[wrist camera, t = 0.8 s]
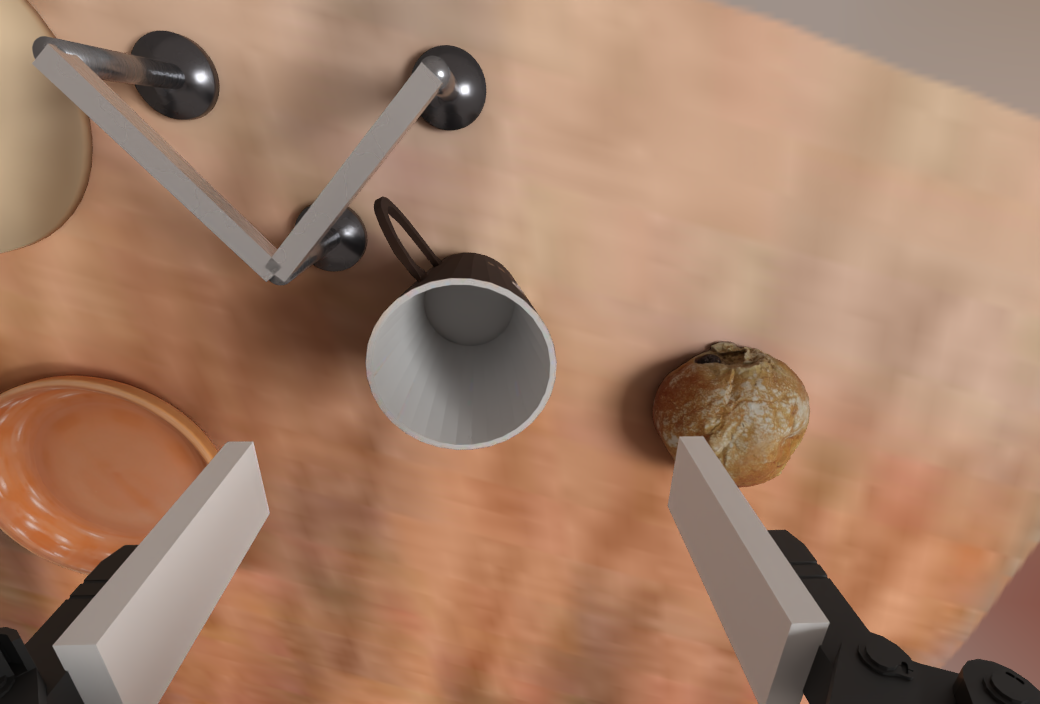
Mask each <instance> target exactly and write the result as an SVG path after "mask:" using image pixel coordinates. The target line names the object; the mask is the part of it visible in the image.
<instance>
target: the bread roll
mask: <svg viewBox="0 0 1040 704" xmlns="http://www.w3.org/2000/svg"><path fill="white" fill-rule="evenodd" d="M809 414H810V408H809V397H808V394H807V392H806V390H805V387H804V385H803V383H802V381H801V380H800V379H799V378H798V376H797V375H796V374H795V373H794V372H793V371H792V370H791V369H790V368H789V367H788V366H787V365H786V364H785V363H783V362H782V361H780V360H778V359H775V358H773V357H772V356H770V355H769V354H765V353H763V352H762V351H760V350H758V349H755V348H748V347H742V348H739V347H738V346H736V345H735V344H734V343H732V342H719V343H717V344H715V345H712V346H711V349H710V350H708V351H707V352H704V353H702V354H700V355H697V356H696V357H694V358H692V359H690V360H689V361H688V362H686V363H685V364H683V365H681V366H680V367H678V368H677V369H676V370H674V371H672V372H670V373H669V374H668V375H667V376H666V377H665V378H664V380H663V381H662V383H661V385H660V386H659V388H658V391H657V393H656V396H655V399H654V404H653V416H652V417H653V421H654V426H655V428H656V430H657V432H658V434H659V436H660V437H661V439H662V441H663V442H664V445H665V447H666V449H667V450H668V452H669V453H670V454H671V456H672V457H673V459H674V461H675V459H676V453H677V447H678V441H679V437H682V436H703V437H704V438H705V440H706V441H707V443H708V444H709V446H710V447H711V449H712V450H713V452H714V453H715V454H716V456H717V457H718V459H719V460H720V462H721V463H722V465H723V466H724V468H725V469H726V471H727V472H728V474H729V475H730V477H731V478H732V479H733V481H734V482H735V484H736V485H737V487H738V488H739V487H749V486H754V485H758V484H761V483H765V482H766V481H768V480H771V479H773V478H775V477H776V476H778V475H780V474H781V473H782V472H781V471H782V470H783V469H784V467H785V466H786V463H787V462H788V461H789V459H790V456H791V455H792V454H793V453H794V451H795V449H796V448H797V447H798V445H799V444H800V442H801V441H802V438H803V436H804V433H805V431H806V429H807V426H808V423H809Z"/></svg>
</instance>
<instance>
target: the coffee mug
mask: <svg viewBox="0 0 1040 704" xmlns="http://www.w3.org/2000/svg"><path fill="white" fill-rule="evenodd" d="M374 211H375V214H376V217H377V220H378V222H379V225H380V227H381V229H382V231H383V233H384V235H385V237H386V239H387V241H388V243H389V245H390V247H391V248H392V250H393V252H394V254H395V255H396V257H397V258H398V259H399V260H400V261H401V262H402V264H403V265H404V266H405V267H406V269H407V270H408V271H409V272H410V274H411V275H412V276H413V277H414V278H415V279H416V280H417V281H416V282H415V283H414V284H413V285H412V286H411V287H410V288H409V289H408V290H406V291H405V292H404V293H403V294H402V295H401V296H400V297H399V298H397V299H396V300H395V301H394V302H393V303H392V304H391V305H390V306H389V307H388V308H387V309H386V310H385V311H384V312H383V314H382V315H381V317H380V319H379V320H378V322H377V323H376V325H375V326H374V328H373V331H372V334H371V336H370V339H369V342H368V345H367V353H366V371H367V379H368V382H369V386H370V389H371V392H372V395H373V396H374V398H375V400H376V402H377V403H378V405H379V407H380V409H381V410H382V411H383V412H384V414H385V415H386V416H387V417H388V418H389V419H390V420H391V422H392V423H394V424H395V425H396V426H397V427H399V428H400V429H401V430H402V431H404V432H405V433H406V434H408V435H410V436H412V437H414V438H416V439H418V440H419V441H421V442H424V443H427V444H430V445H433V446H436V447H441V448H447V449H454V450H473V449H479V448H484V447H490V446H493V445H495V444H498V443H501V442H504V441H506V440H508V439H510V438H511V437H513V436H515V435H517V434H519V433H520V432H521V431H523V430H524V429H525V428H526V427H527V426H529V425H530V424H531V423H532V422H533V421H534V420H535V419H536V418H537V416H538V415H539V414H540V413H541V411H542V410H543V409H544V407H545V405H546V403H547V401H548V399H549V397H550V396H551V393H552V389H553V386H554V382H555V379H556V363H557V362H556V355H555V349H554V344H553V341H552V339H551V336H550V334H549V331H548V329H547V327H546V326H545V324H544V323H543V321H542V320H541V318H540V316H539V315H538V313H537V312H536V311H535V309H534V308H533V306H532V305H531V303H530V302H529V300H528V299H527V297H526V296H525V294H524V293H523V292H522V290H521V289H520V287H519V286H518V284H517V283H516V281H515V280H514V278H513V277H512V275H511V274H510V272H509V271H508V270H507V269H506V268H505V267H504V266H503V265H502V264H500V263H499V262H497V261H496V260H494V259H492V258H490V257H488V256H485V255H481V254H477V253H460V254H455V255H452V256H449V257H447V258H444V259H443V260H440V259H439V258H438V257H437V256H436V255H435V254H434V253H433V251H432V250H431V249H430V248H429V246H428V245H427V244H426V242H425V241H424V240H423V238H422V237H421V236H420V234H419V233H418V232H417V231H416V229H415V228H414V227H413V225H412V224H411V223H410V222H409V220H408V219H407V218H406V217H405V216H404V215H403V213H402V212H401V211H400V210H399V209H398V208H397V207H396V206H395V205H394V204H393V203H392V202H391V201H390V200H389V199H388V198H386V197H381V198H379V199H377V200H375V203H374ZM388 214H389V215H390V216H391V217H392V218H394V219H395V220H396V221H397V222H398V223H399V224H400V225H401V226H402V227H403V229H404V230H405V231H406V232H407V233H408V235H409V236H410V237H411V238H412V240H413V241H414V242H415V243H416V245H417V246H418V247H419V249H420V250H421V251H422V252H423V254H424V255H425V256H426V257H427V259H428V260H429V261H430V262H431V264H432V265H433V267H432V268H431V269H430V270H429V271H428V272H427V273H426V272H425V271H424V270H423V269H421V268H420V267H418V266H417V265H416V264H415V263H414V261H413V260H412V259H411V257H410V256H409V254H408V252H407V251H406V249H405V248H404V246H403V245H402V243H401V242H400V240H399V238H398V236H397V235H396V233H395V230H394V228H393V226H392V223H391V221H390V218H389V215H388Z"/></svg>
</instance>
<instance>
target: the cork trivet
mask: <svg viewBox="0 0 1040 704" xmlns="http://www.w3.org/2000/svg"><path fill="white" fill-rule="evenodd" d="M42 36H47V37H52V38H56V37H55V36H54V35H53V33H52V32H51V30H50V29H49V28H48V26H47V25H46V23H45V22H44V21H43V19H42V18H41V16H40V15H39V14H38V13H37V11H36V10H35V9H34V8H33V7H32V6H31V4H30V3H29V2H28V1H27V0H0V253H3V252H8V251H12V250H16V249H20V248H23V247H26V246H29V245H32V244H35V243H37V242H39V241H41V240H42V239H44V238H46V237H48V236H50V235H51V234H52V233H54V232H55V231H56V230H58V229H59V228H60V227H62V226H63V224H64V223H65V222H66V221H67V220H68V219H69V218H70V217H71V216H72V215H73V213H74V211H75V210H76V208H77V207H78V205H79V203H80V202H81V200H82V198H83V195H84V193H85V190H86V187H87V185H88V181H89V176H90V171H91V167H92V150H93V146H92V133H91V125H90V120H89V116H88V115H86V114H85V113H84V112H83V111H82V110H81V109H80V108H79V107H78V106H77V105H76V104H75V103H74V102H73V101H71V100H70V99H69V98H68V97H67V96H66V95H65V94H64V93H63V92H62V91H61V90H60V89H59V88H57V87H56V86H55V85H54V84H53V83H52V82H51V81H50V80H49V79H48V78H47V77H46V76H45V75H44V74H42V73H41V72H40V71H39V70H38V69H37V68H36V67H35V66H34V65H33V64H32V63H33V62H34V60H35V58H34V55H33V52H32V46H33V43H34V41H35V40H36V39H37V38H39V37H42Z"/></svg>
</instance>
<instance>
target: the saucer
mask: <svg viewBox="0 0 1040 704" xmlns="http://www.w3.org/2000/svg"><path fill="white" fill-rule="evenodd" d="M217 453H218V451H217V449H216V448H215V446H214V445H213V444H212V442H211V441H210V439H209V438H208V437H207V436H206V435H205V433H204V432H203V431H202V430H201V429H200V428H199V427H198V426H197V425H196V424H195V423H194V422H193V421H192V420H191V419H190V418H188V417H187V416H186V415H185V414H183V413H182V412H181V411H179V410H178V409H176V408H175V407H173V406H172V405H170V404H169V403H167V402H165V401H164V400H162V399H160V398H158V397H156V396H154V395H152V394H150V393H148V392H146V391H144V390H141V389H139V388H136V387H134V386H131V385H128V384H124V383H121V382H117V381H114V380H109V379H104V378H98V377H91V376H75V375H71V376H55V377H49V378H43V379H39V380H36V381H32V382H29V383H26V384H23V385H20V386H17V387H14V388H12V389H10V390H7V391H5V392H3V393H2V394H0V529H1V530H2V531H3V532H4V533H6V534H7V535H8V536H9V537H10V538H12V539H13V540H14V541H16V542H17V543H18V544H20V545H21V546H23V547H24V548H26V549H27V550H29V551H31V552H32V553H34V554H36V555H38V556H40V557H42V558H43V559H45V560H48V561H50V562H52V563H54V564H56V565H59V566H61V567H64V568H67V569H70V570H72V571H76V572H79V573H83V574H87V575H89V574H90V573H91V572H92V571H93V570H94V569H95V567H96V566H97V565H98V564H99V563H100V562H101V561H102V560H104V559H105V558H107V557H108V556H110V555H111V554H112V553H114V552H115V551H117V550H118V549H120V548H121V547H122V546H124V545H139V544H140V543H141V542H142V541H143V540H144V538H145V537H146V536H147V535H148V534H149V533H150V531H151V530H152V529H153V528H154V527H155V526H156V524H157V523H158V522H159V521H160V520H161V519H162V517H163V516H164V515H165V514H166V513H167V512H168V510H169V509H170V508H171V507H172V506H173V505H174V503H175V502H176V501H177V500H178V499H179V498H180V496H181V495H182V494H183V493H184V492H185V491H186V489H187V488H188V487H189V486H190V485H191V484H192V482H193V481H194V480H195V479H196V478H197V477H198V475H199V474H200V473H201V472H202V471H203V470H204V468H205V467H206V466H207V465H208V464H209V463H210V461H211V460H212V459H213V458H214V457H215V456H216V454H217Z"/></svg>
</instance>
